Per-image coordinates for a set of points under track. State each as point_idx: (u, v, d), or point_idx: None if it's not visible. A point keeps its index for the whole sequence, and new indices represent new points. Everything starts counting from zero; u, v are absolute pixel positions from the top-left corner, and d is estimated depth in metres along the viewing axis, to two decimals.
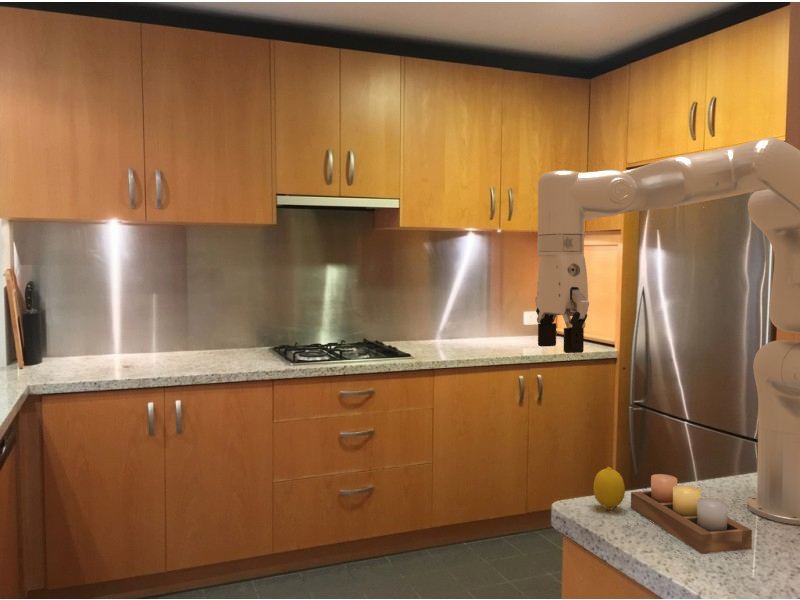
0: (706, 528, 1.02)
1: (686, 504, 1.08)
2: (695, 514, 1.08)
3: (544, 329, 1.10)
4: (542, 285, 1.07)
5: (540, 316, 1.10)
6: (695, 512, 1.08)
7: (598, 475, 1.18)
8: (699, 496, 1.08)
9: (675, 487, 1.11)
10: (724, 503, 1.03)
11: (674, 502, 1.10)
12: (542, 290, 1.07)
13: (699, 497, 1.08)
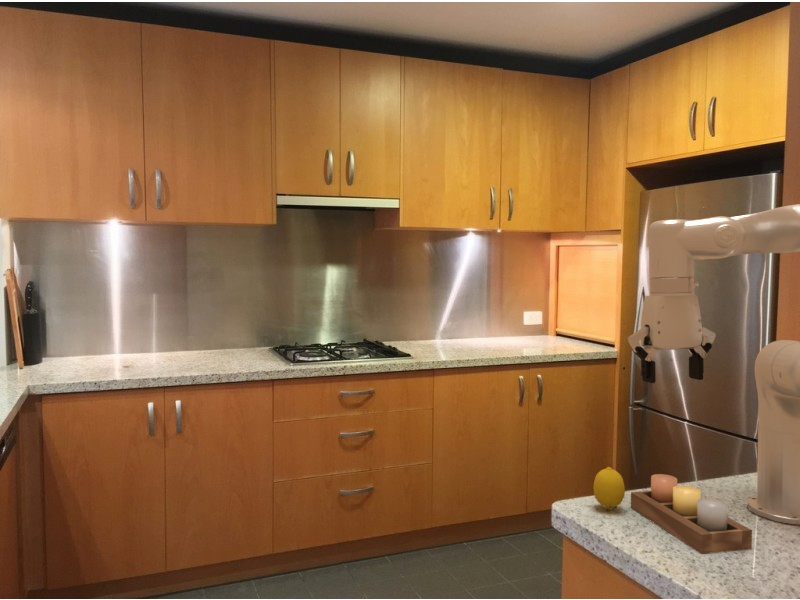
0: (706, 528, 1.02)
1: (686, 504, 1.08)
2: (695, 514, 1.08)
3: None
4: (671, 323, 1.14)
5: (653, 354, 1.15)
6: (695, 512, 1.08)
7: (598, 475, 1.18)
8: (699, 496, 1.08)
9: (675, 487, 1.11)
10: (724, 503, 1.03)
11: (674, 502, 1.10)
12: (671, 328, 1.14)
13: (699, 497, 1.08)
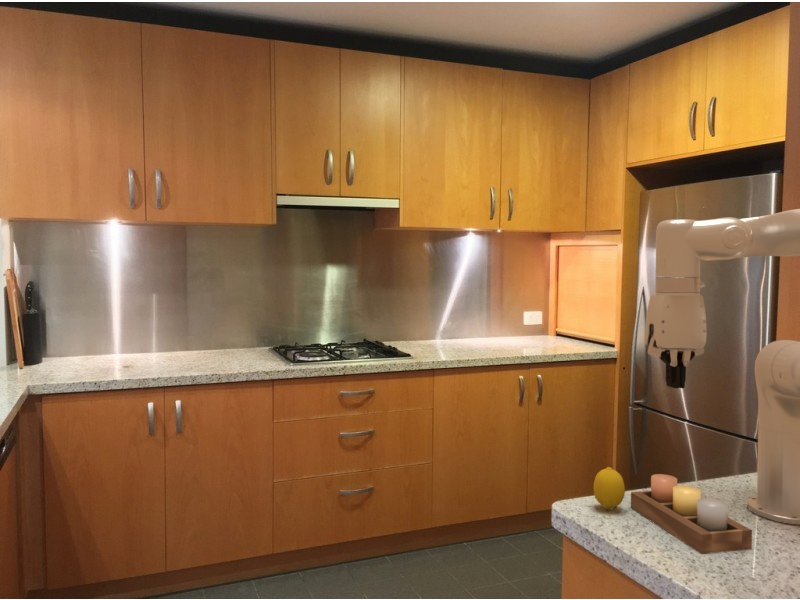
0: (706, 528, 1.02)
1: (686, 504, 1.08)
2: (695, 514, 1.08)
3: None
4: (676, 323, 1.14)
5: (674, 357, 1.15)
6: (695, 512, 1.08)
7: (598, 475, 1.18)
8: (699, 496, 1.08)
9: (675, 487, 1.11)
10: (724, 503, 1.03)
11: (674, 502, 1.10)
12: (675, 328, 1.14)
13: (699, 497, 1.08)
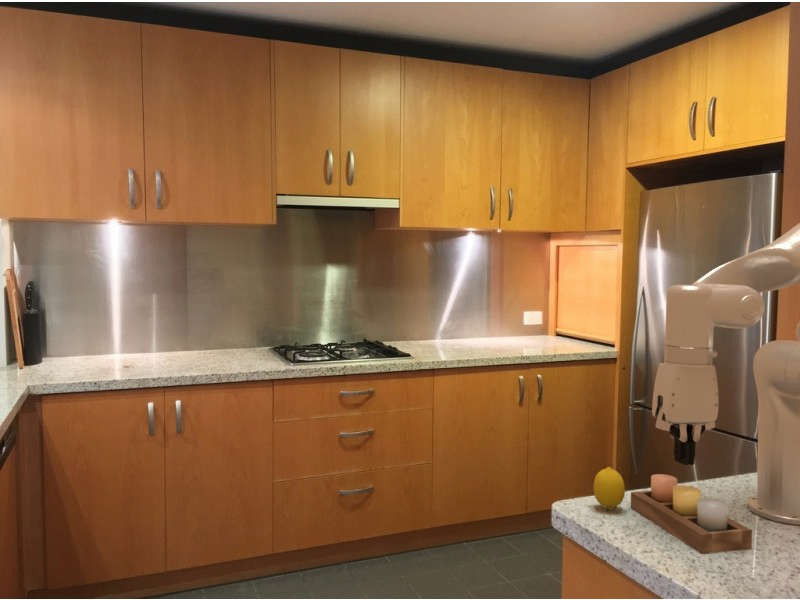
0: (706, 528, 1.02)
1: (686, 504, 1.08)
2: (695, 514, 1.08)
3: None
4: (687, 396, 1.06)
5: (684, 432, 1.08)
6: (695, 512, 1.08)
7: (598, 475, 1.18)
8: (699, 496, 1.08)
9: (675, 487, 1.11)
10: (724, 503, 1.03)
11: (674, 502, 1.10)
12: (686, 401, 1.06)
13: (699, 497, 1.08)
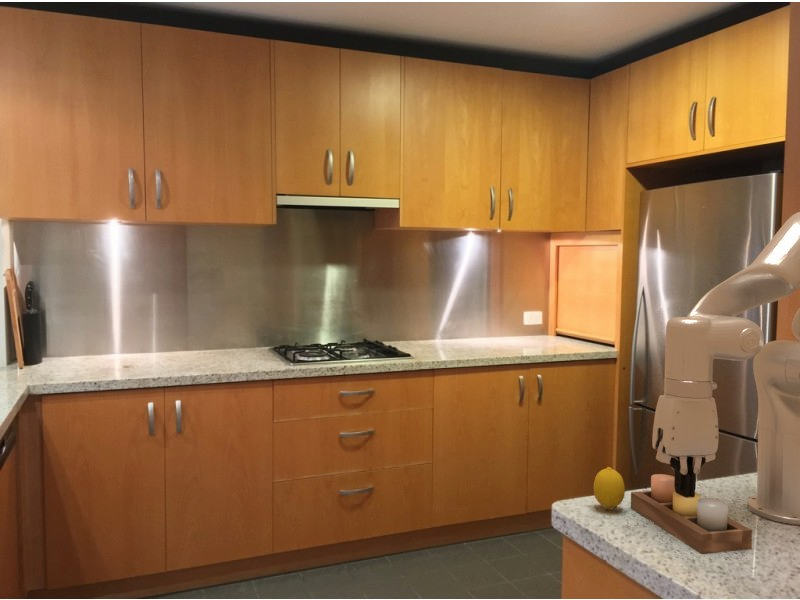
0: (706, 528, 1.02)
1: (686, 509, 1.08)
2: None
3: None
4: (687, 429, 1.07)
5: (685, 464, 1.08)
6: None
7: (598, 475, 1.18)
8: None
9: (675, 492, 1.11)
10: (724, 503, 1.03)
11: (674, 507, 1.10)
12: (686, 434, 1.07)
13: None
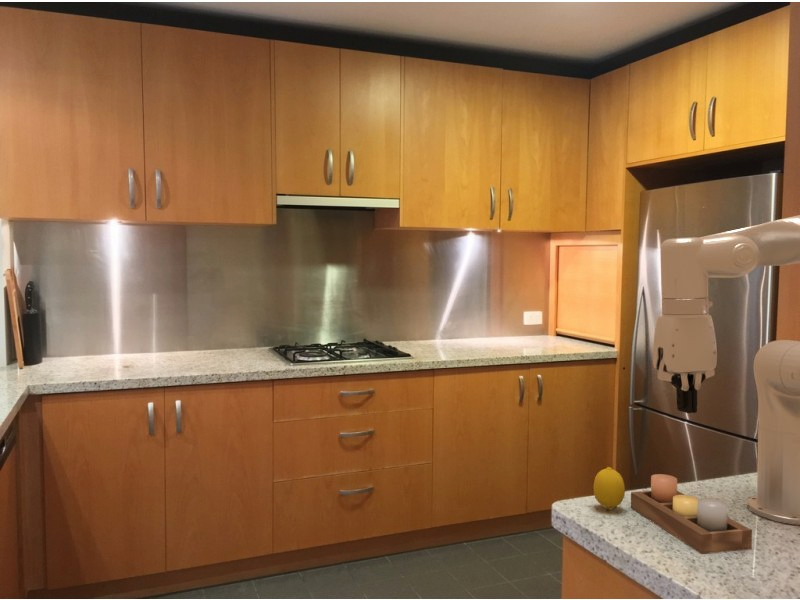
0: (706, 528, 1.02)
1: (686, 514, 1.08)
2: None
3: None
4: (686, 346, 1.09)
5: (686, 381, 1.11)
6: None
7: (598, 475, 1.18)
8: None
9: (675, 496, 1.11)
10: (724, 503, 1.03)
11: None
12: (686, 351, 1.09)
13: None
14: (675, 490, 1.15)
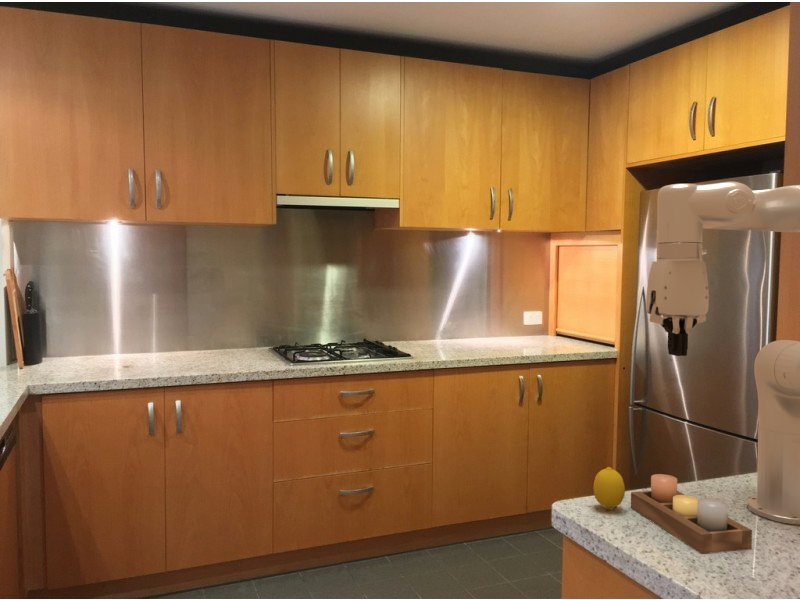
0: (706, 528, 1.02)
1: (686, 514, 1.08)
2: None
3: None
4: (678, 289, 1.12)
5: (677, 324, 1.13)
6: None
7: (598, 475, 1.18)
8: None
9: (675, 496, 1.11)
10: (724, 503, 1.03)
11: None
12: (678, 294, 1.12)
13: None
14: (675, 490, 1.15)
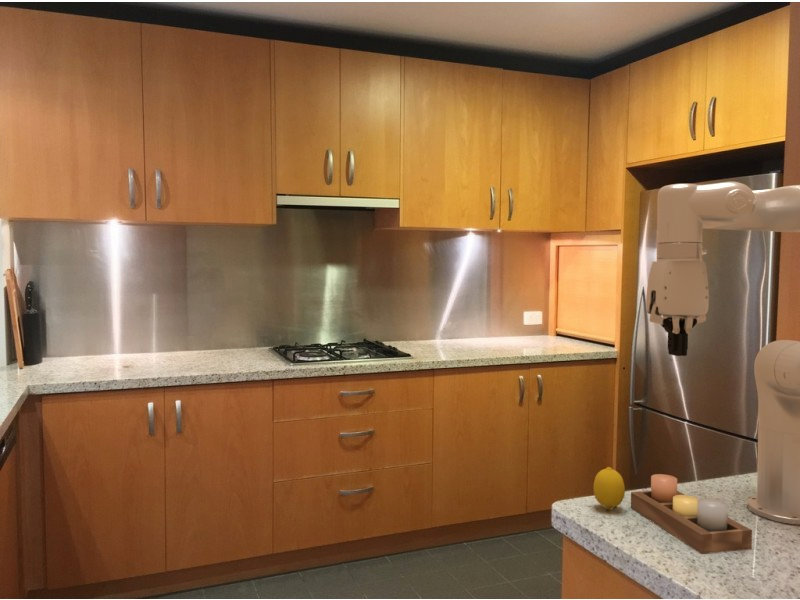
0: (706, 528, 1.02)
1: (686, 514, 1.08)
2: None
3: None
4: (678, 289, 1.12)
5: (677, 324, 1.13)
6: None
7: (598, 475, 1.18)
8: None
9: (675, 496, 1.11)
10: (724, 503, 1.03)
11: None
12: (678, 294, 1.12)
13: None
14: (675, 490, 1.15)
